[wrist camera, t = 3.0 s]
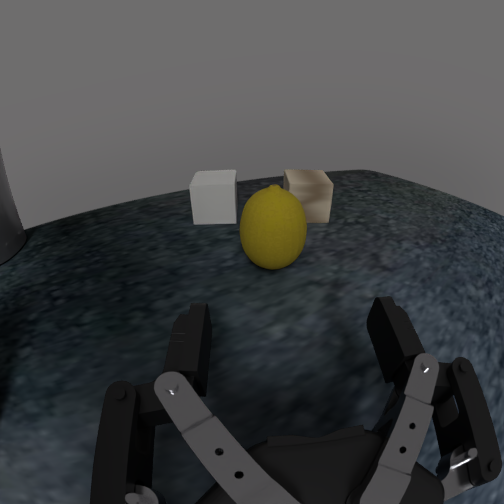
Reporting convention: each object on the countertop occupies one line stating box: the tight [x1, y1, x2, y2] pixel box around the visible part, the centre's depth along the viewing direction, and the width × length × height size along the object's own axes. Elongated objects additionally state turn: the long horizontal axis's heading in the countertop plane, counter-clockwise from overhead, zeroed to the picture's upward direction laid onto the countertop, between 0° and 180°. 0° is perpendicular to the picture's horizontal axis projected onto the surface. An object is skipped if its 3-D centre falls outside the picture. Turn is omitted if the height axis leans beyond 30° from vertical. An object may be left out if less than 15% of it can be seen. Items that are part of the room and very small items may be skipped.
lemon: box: [240, 185, 307, 270], centre depth 23 cm, size 6×6×8 cm
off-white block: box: [189, 170, 237, 224], centre depth 33 cm, size 5×5×5 cm
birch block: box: [283, 170, 333, 223], centre depth 33 cm, size 5×5×5 cm
